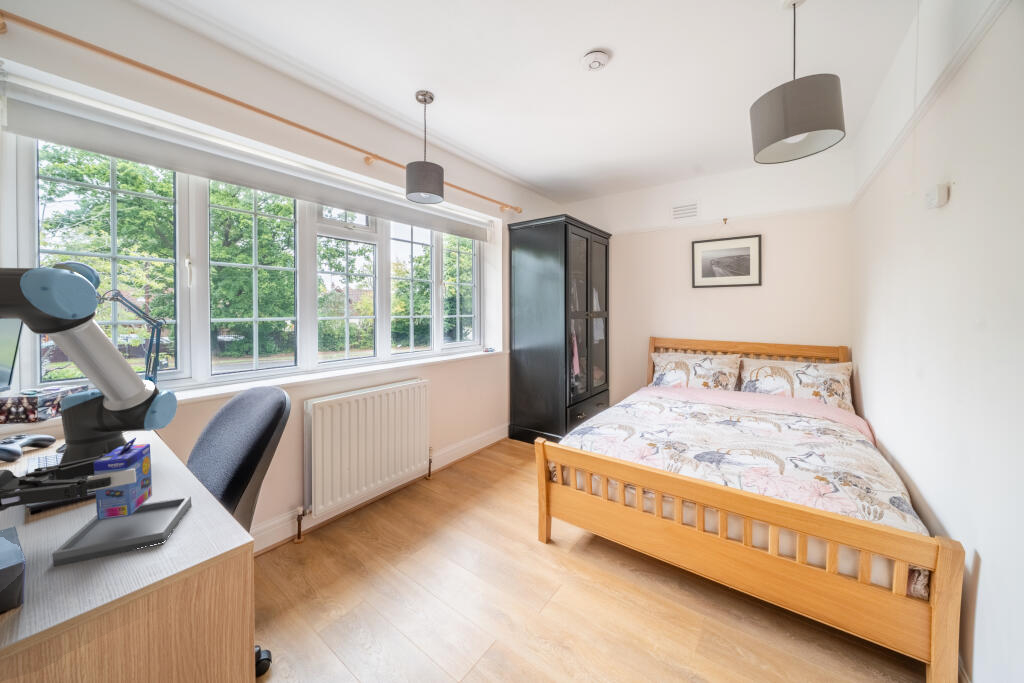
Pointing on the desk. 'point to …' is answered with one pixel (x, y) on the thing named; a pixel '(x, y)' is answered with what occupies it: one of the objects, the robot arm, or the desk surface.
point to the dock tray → (123, 531)
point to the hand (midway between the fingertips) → (141, 465)
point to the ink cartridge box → (129, 495)
